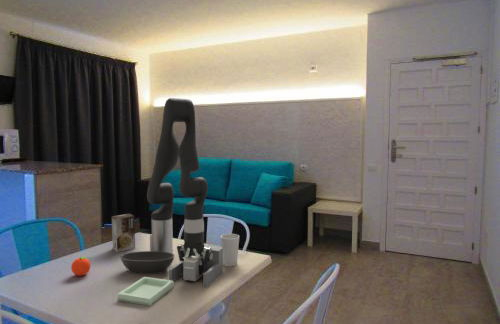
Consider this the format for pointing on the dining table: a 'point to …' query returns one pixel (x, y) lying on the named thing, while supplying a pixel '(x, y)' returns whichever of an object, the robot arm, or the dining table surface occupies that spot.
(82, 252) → the dining table surface
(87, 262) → the clementine
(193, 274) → the white block
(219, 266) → the bay
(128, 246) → the coffee box
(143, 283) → the tray
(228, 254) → the cup
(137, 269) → the bowl
